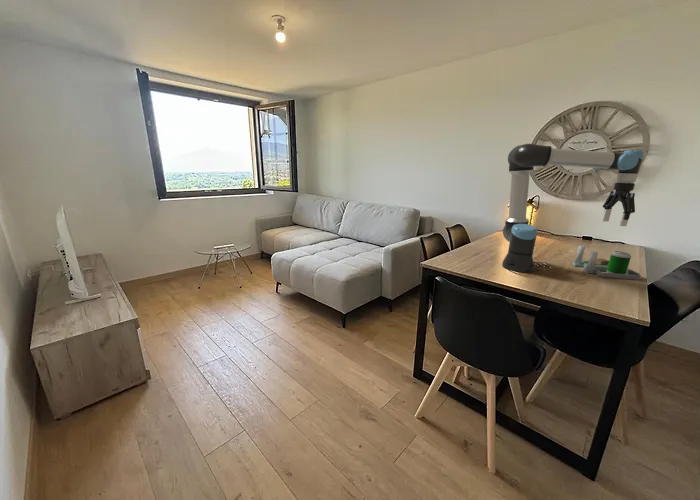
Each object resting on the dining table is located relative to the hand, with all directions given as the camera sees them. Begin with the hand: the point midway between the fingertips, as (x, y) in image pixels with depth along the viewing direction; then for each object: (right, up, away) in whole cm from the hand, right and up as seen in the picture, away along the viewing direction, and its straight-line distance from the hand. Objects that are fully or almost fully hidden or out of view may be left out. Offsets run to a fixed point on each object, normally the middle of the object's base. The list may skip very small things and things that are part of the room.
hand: (613, 223), depth 152 cm
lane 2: (-5, -26, -2) cm, 27 cm away
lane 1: (-2, -23, +9) cm, 25 cm away
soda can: (-1, -27, -2) cm, 27 cm away
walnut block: (+1, -24, +9) cm, 25 cm away
